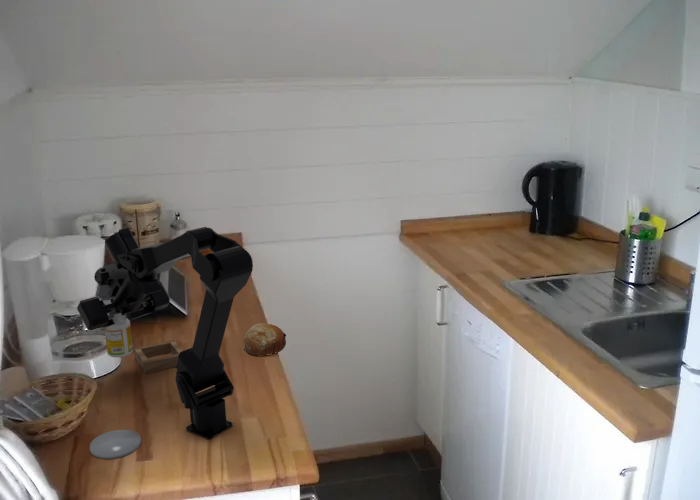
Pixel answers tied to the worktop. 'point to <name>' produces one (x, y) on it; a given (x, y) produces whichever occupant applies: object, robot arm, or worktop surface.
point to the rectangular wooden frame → (155, 350)
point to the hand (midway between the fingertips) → (114, 323)
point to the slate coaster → (115, 444)
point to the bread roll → (264, 339)
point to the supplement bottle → (119, 337)
